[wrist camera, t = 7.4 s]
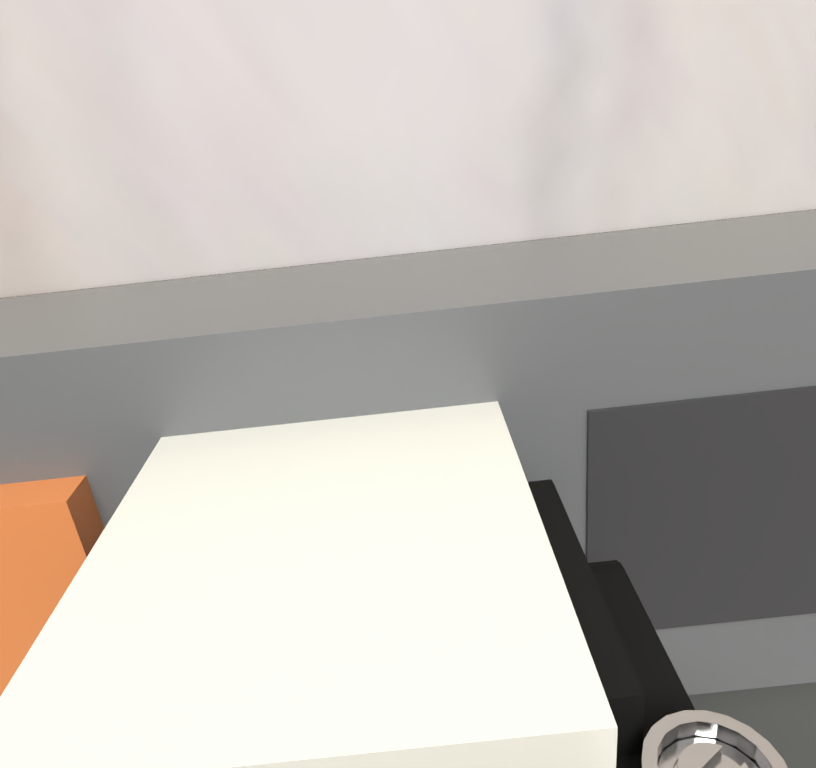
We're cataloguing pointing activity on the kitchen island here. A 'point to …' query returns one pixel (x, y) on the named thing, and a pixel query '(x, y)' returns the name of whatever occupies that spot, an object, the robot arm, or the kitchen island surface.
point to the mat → (773, 717)
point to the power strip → (460, 385)
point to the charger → (318, 611)
